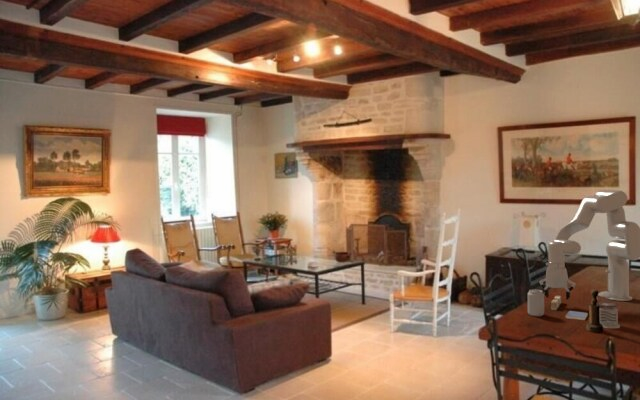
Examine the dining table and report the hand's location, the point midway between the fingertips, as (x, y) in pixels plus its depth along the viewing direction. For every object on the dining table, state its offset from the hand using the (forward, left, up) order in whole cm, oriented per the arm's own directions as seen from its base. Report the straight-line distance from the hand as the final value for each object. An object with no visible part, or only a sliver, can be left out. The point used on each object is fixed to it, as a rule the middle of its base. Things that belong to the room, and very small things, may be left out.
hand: (557, 298), depth 263 cm
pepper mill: (+36, +22, -4) cm, 43 cm away
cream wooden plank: (+1, 0, -4) cm, 4 cm away
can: (+23, -5, -4) cm, 24 cm away
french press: (+25, +25, -4) cm, 36 cm away
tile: (+12, +12, -4) cm, 17 cm away
